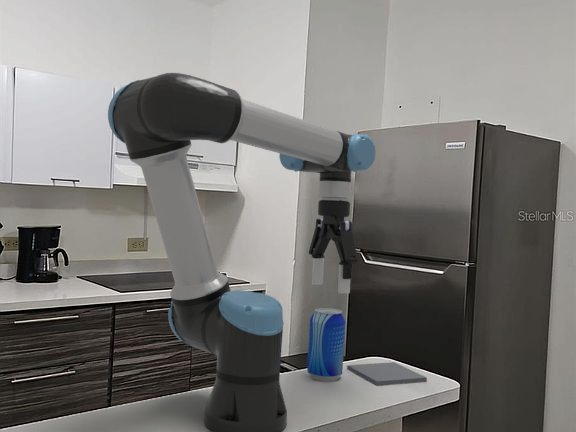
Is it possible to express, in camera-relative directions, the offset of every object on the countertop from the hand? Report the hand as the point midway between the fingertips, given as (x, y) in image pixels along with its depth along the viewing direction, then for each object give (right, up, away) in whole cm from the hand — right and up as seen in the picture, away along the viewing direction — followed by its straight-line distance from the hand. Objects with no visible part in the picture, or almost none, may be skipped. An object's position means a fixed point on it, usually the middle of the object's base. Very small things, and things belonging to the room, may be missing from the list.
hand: (330, 288), depth 140 cm
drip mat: (+14, -22, +5) cm, 26 cm away
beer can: (-1, -21, 0) cm, 21 cm away
